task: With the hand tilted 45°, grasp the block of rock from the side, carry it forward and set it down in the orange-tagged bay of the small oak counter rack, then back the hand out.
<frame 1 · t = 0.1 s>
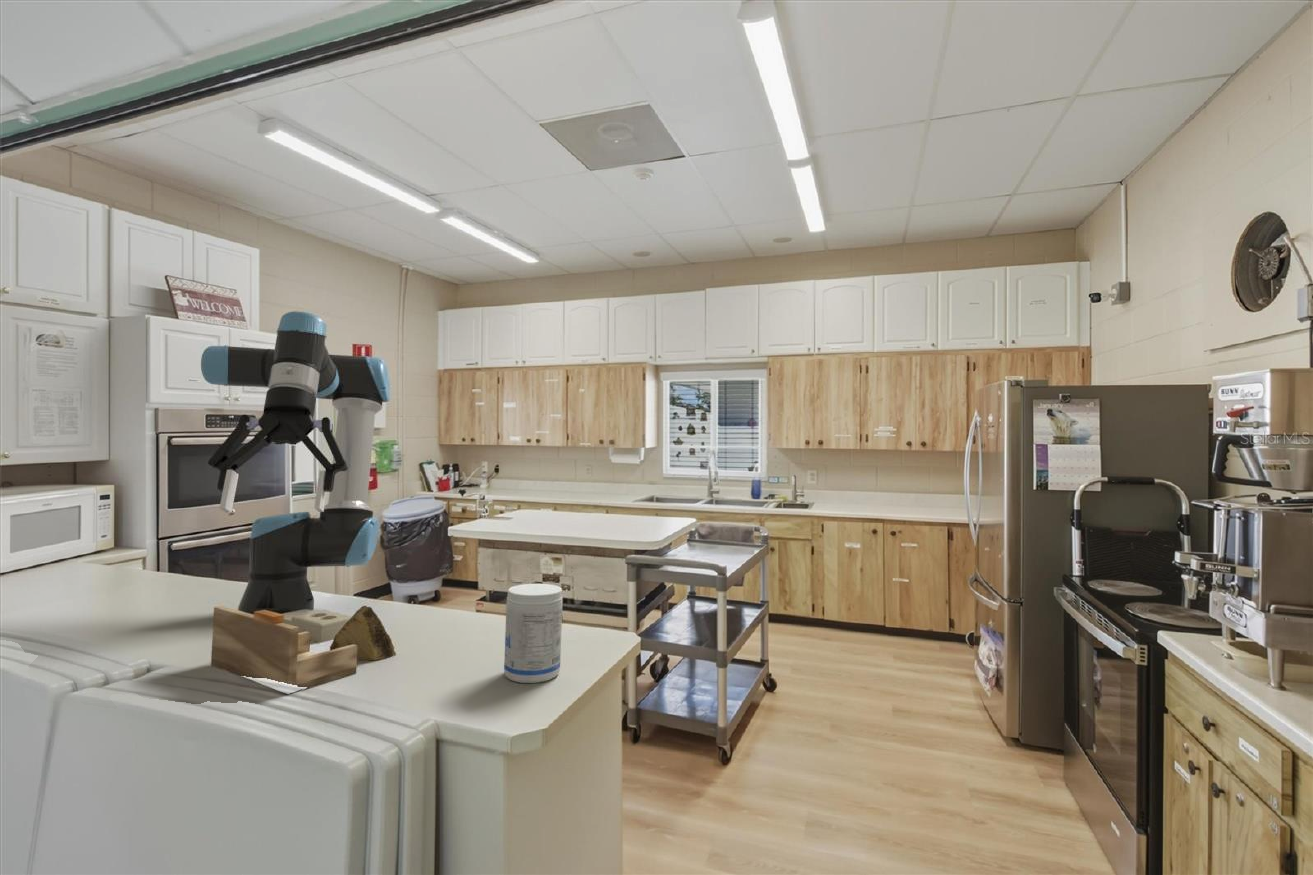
hand: (273, 510, 97), 28 cm above the table, tool tilted 20°, fingers open, 13 cm apart
rock: (361, 657, 109), on the table
grey cinder block: (312, 634, 124), on the table
supplement tub: (532, 676, 101), on the table
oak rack: (282, 669, 102), on the table
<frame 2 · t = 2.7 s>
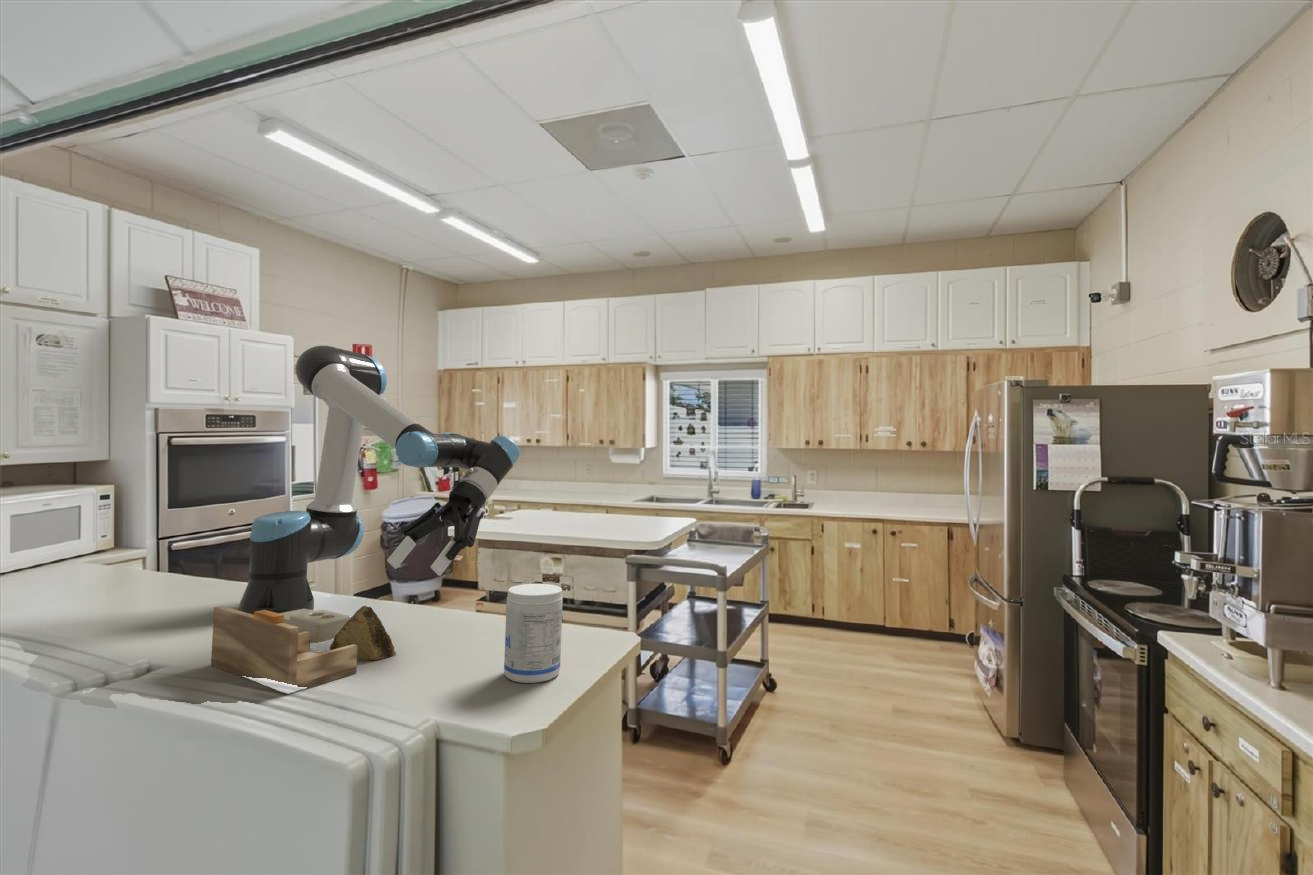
hand: (412, 568, 119), 15 cm above the table, tool tilted 45°, fingers open, 13 cm apart
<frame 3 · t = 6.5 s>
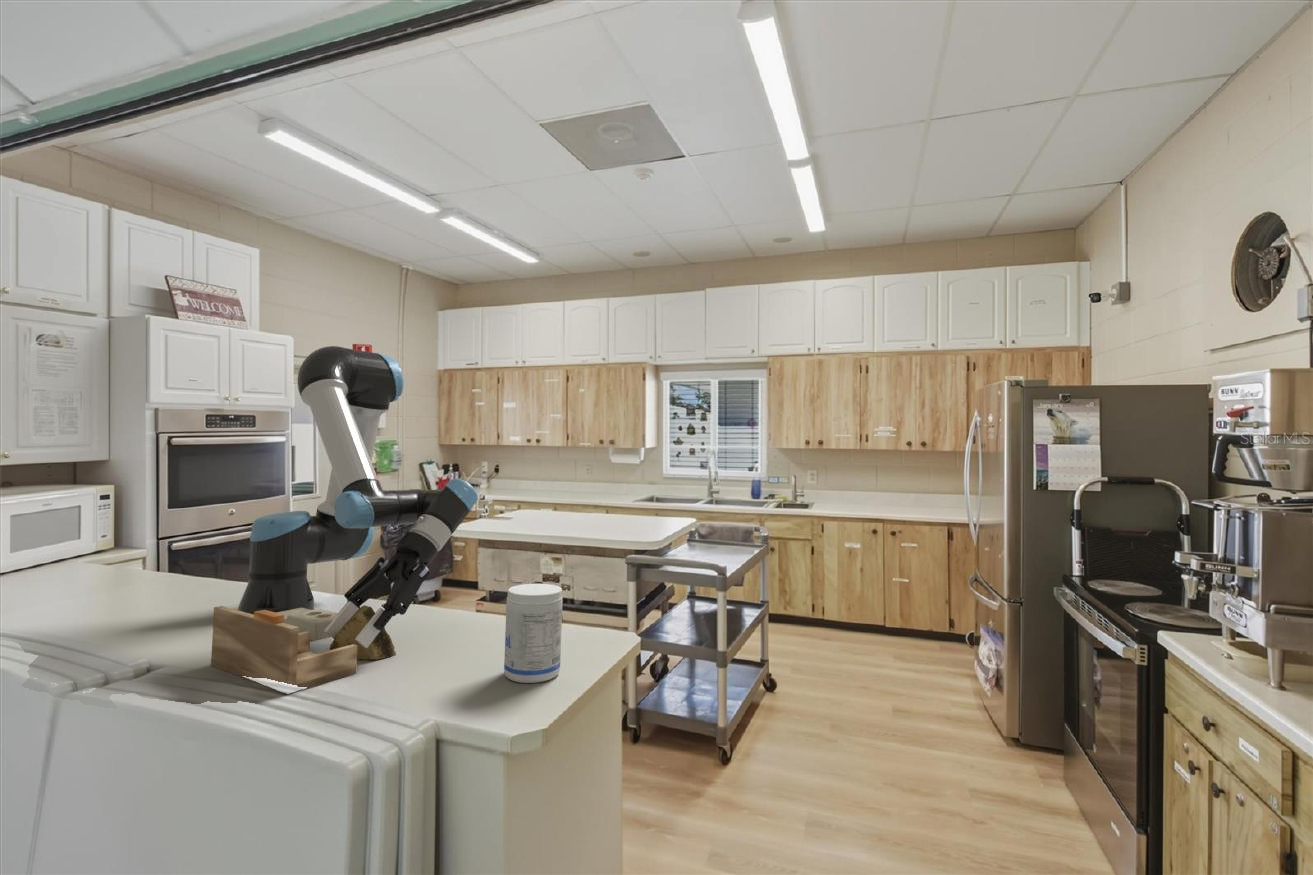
hand: (345, 639, 107), 4 cm above the table, tool tilted 45°, fingers closed on rock, 9 cm apart
rock: (361, 657, 109), on the table, touching gripper
grey cinder block: (307, 632, 125), on the table
everything else where it was.
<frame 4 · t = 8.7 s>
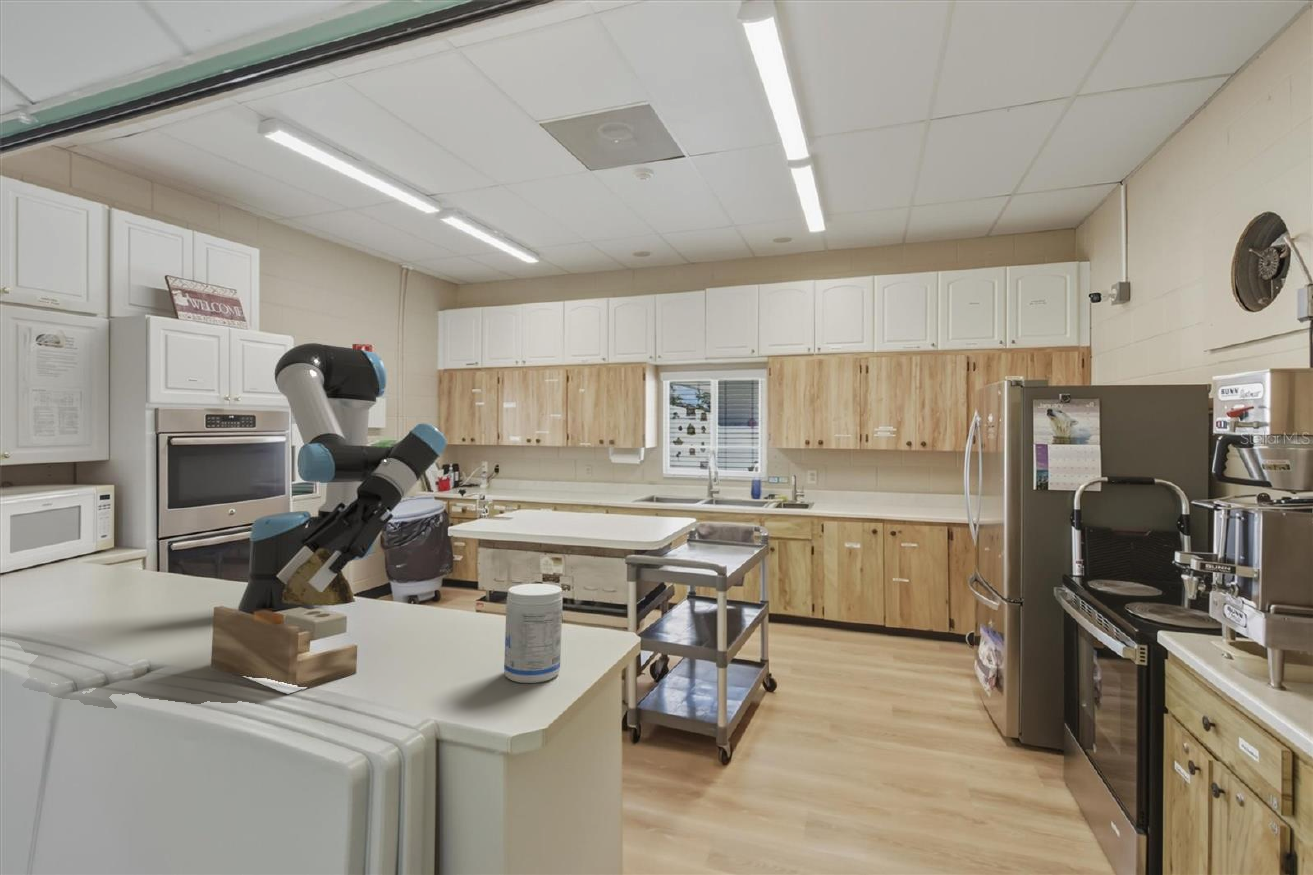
hand: (298, 584, 99), 15 cm above the table, tool tilted 45°, fingers closed on rock, 9 cm apart
rock: (316, 604, 102), point 11 cm above the table, touching gripper
when the fingers open (6 cm above the table, at t = 11.0 s): rock drops 1 cm, resting on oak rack.
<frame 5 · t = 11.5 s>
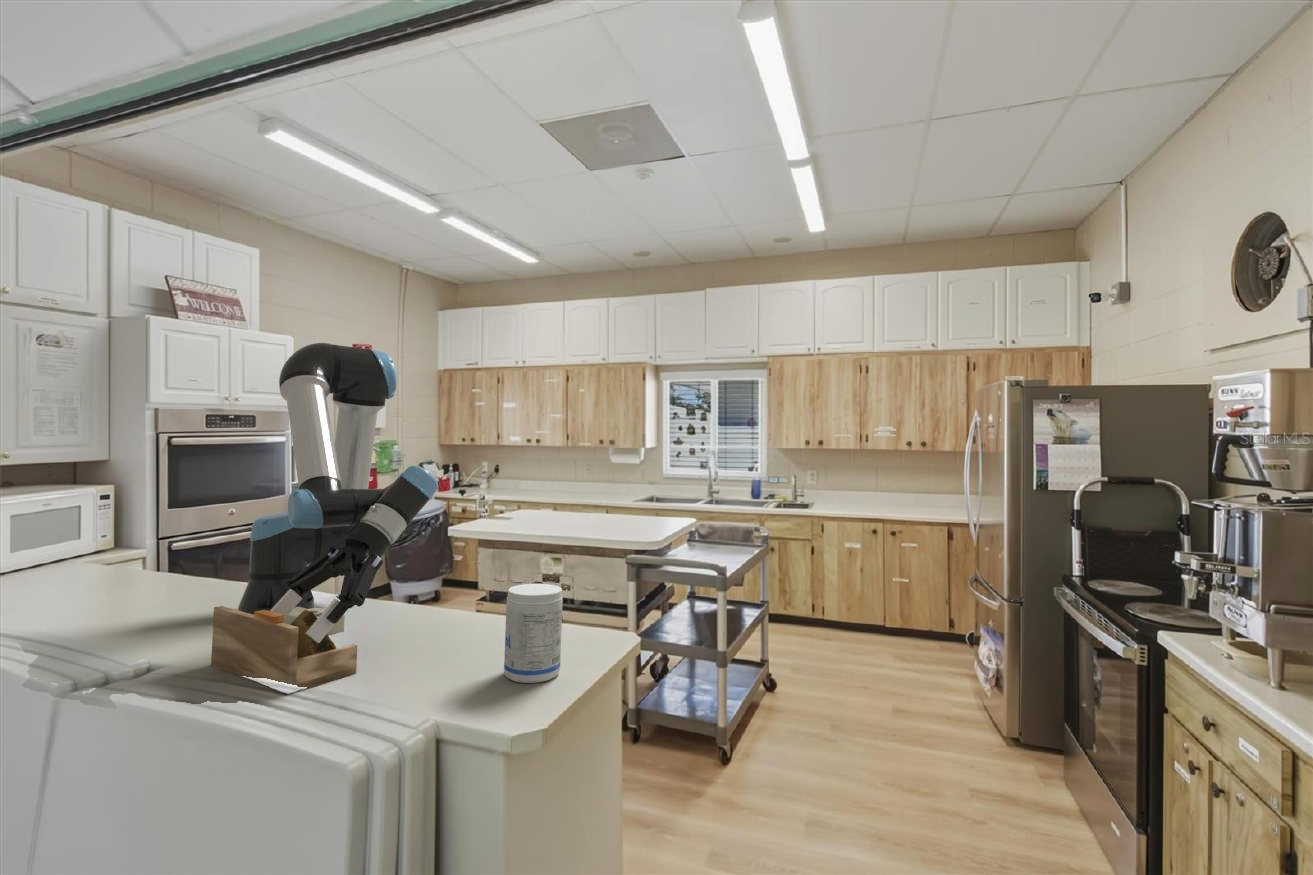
hand: (288, 631, 98), 7 cm above the table, tool tilted 45°, fingers open, 13 cm apart
rock: (302, 666, 100), point 1 cm above the table, touching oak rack
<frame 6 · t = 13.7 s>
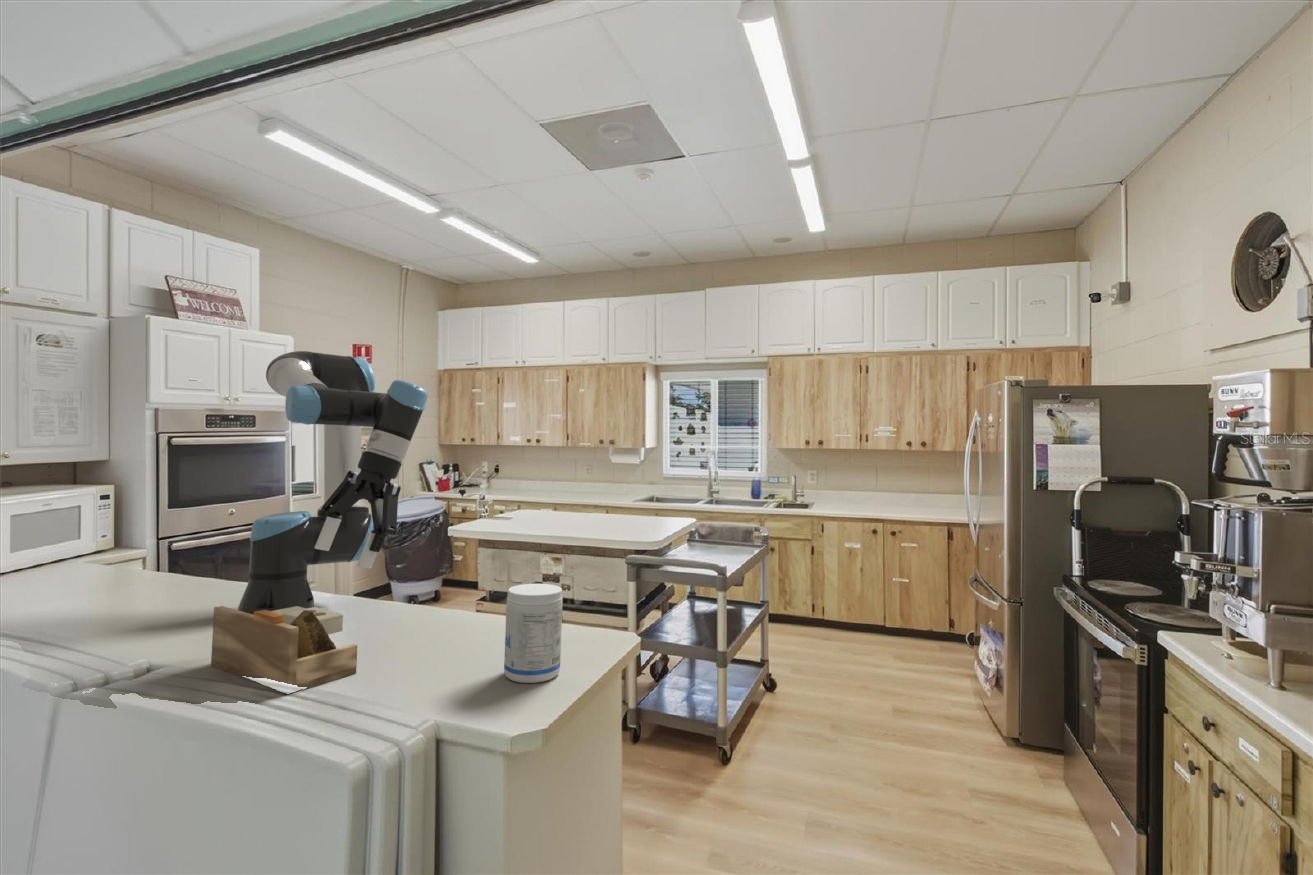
hand: (341, 558, 114), 17 cm above the table, tool tilted 20°, fingers open, 13 cm apart
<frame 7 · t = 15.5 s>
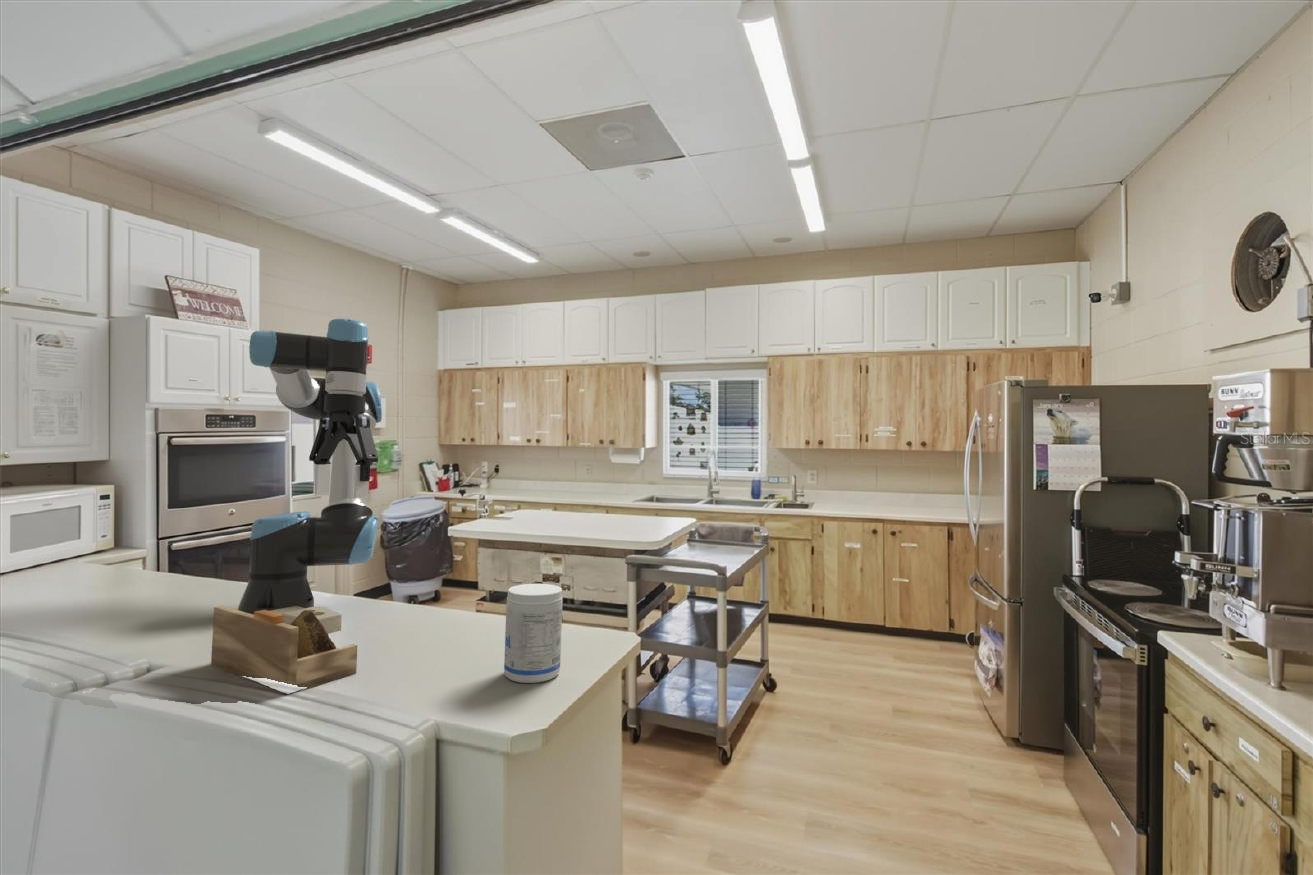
hand: (340, 496, 122), 29 cm above the table, tool pointing down, fingers open, 13 cm apart
at the end: rock inside the target area on the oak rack (0.4 cm from its centre), point 1.1 cm above the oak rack's base; rock tilted 1°; the gripper is holding nothing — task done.
